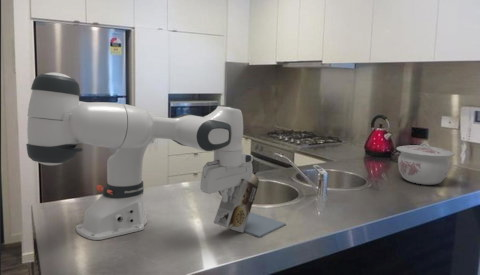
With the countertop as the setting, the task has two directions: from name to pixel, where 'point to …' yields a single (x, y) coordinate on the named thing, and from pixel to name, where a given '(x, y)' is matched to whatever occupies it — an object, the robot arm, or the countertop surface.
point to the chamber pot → (424, 163)
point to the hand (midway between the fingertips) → (226, 201)
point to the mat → (261, 225)
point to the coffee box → (237, 207)
